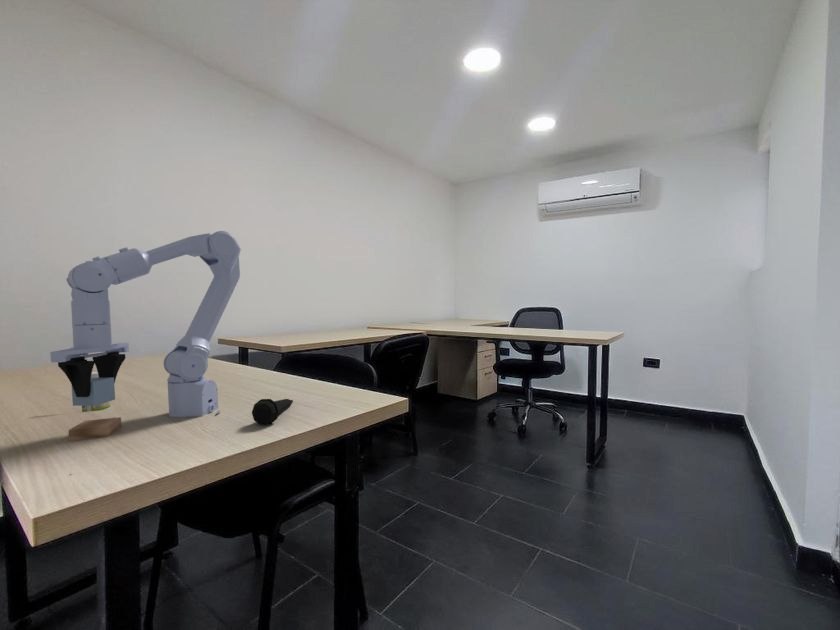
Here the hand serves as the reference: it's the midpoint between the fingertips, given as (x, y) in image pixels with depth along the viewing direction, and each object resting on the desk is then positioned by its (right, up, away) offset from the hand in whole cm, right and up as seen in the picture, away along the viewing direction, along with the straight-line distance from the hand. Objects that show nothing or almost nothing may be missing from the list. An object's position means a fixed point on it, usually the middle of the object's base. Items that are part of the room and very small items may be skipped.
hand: (95, 393), depth 75 cm
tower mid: (+1, -8, -1) cm, 8 cm away
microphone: (+31, -8, +14) cm, 35 cm away
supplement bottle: (-17, -9, +20) cm, 28 cm away
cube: (0, -2, 0) cm, 2 cm away
